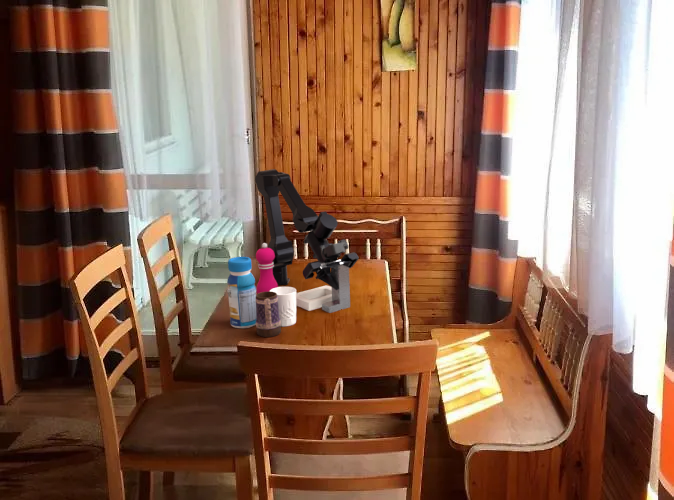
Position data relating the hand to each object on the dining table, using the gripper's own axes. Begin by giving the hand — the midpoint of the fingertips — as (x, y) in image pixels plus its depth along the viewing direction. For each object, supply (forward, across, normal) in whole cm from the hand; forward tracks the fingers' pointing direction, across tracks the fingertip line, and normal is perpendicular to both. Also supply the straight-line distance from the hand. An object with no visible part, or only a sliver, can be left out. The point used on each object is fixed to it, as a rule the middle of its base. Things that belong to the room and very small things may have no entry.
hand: (343, 287), depth 231 cm
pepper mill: (-10, -15, +19) cm, 26 cm away
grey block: (+4, -2, +6) cm, 7 cm away
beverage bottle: (-2, -30, +11) cm, 32 cm away
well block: (-3, -2, +12) cm, 13 cm away
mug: (+7, -30, +2) cm, 31 cm away
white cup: (+4, -21, +6) cm, 22 cm away
